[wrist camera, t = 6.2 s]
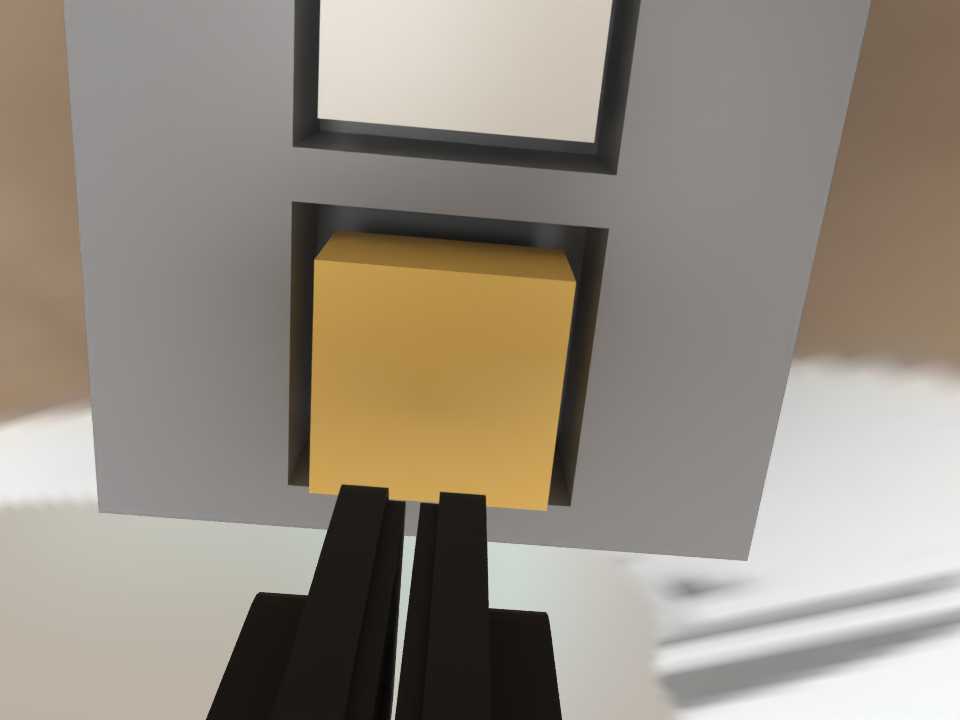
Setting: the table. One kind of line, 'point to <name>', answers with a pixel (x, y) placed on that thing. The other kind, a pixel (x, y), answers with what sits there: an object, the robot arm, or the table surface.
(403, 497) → the amber key
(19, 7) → the table surface
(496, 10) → the middle key
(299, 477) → the key console
